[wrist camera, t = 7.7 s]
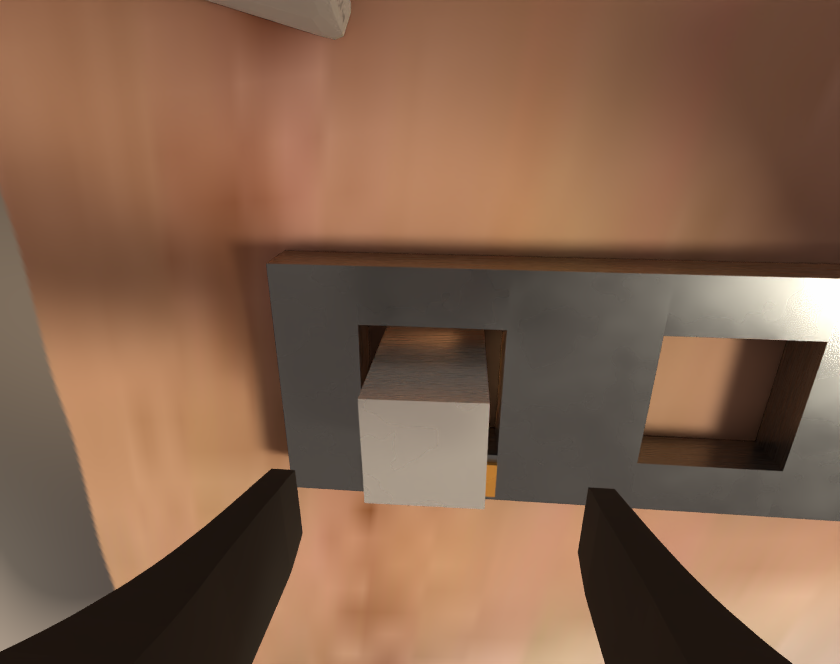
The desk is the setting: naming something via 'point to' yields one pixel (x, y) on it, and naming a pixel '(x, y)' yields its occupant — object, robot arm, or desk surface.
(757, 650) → the robot arm
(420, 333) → the peg
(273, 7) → the electrical switch
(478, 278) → the grey board with holes
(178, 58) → the desk surface
